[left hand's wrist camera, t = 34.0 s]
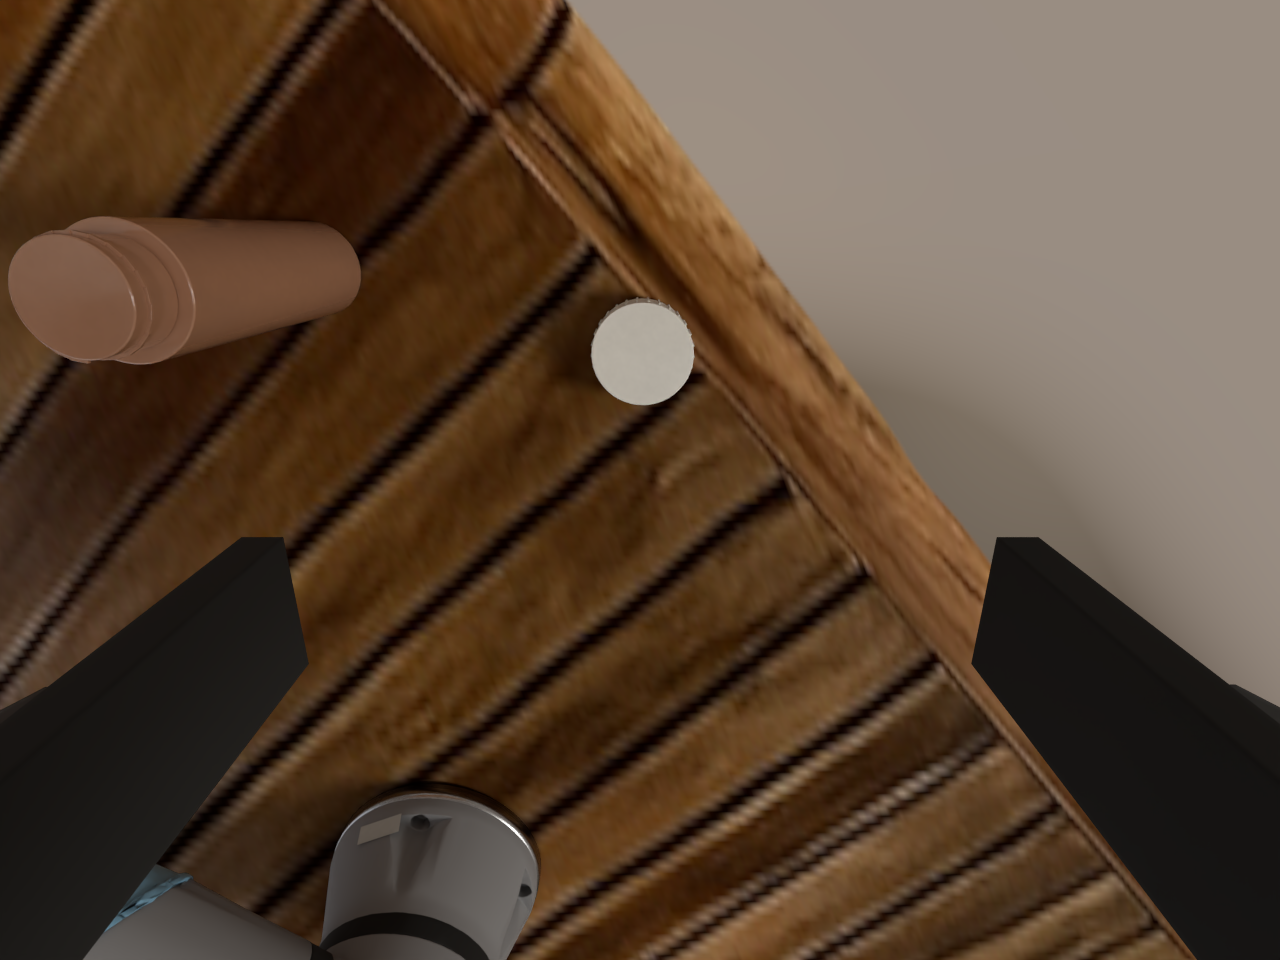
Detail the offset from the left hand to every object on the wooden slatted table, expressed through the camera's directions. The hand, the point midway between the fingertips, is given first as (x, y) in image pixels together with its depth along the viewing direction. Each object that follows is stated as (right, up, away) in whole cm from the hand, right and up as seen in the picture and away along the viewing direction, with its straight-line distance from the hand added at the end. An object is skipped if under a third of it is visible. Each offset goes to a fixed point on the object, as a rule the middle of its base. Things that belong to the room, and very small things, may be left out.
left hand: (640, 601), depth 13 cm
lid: (0, +9, +24) cm, 26 cm away
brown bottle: (-18, +14, +24) cm, 33 cm away
